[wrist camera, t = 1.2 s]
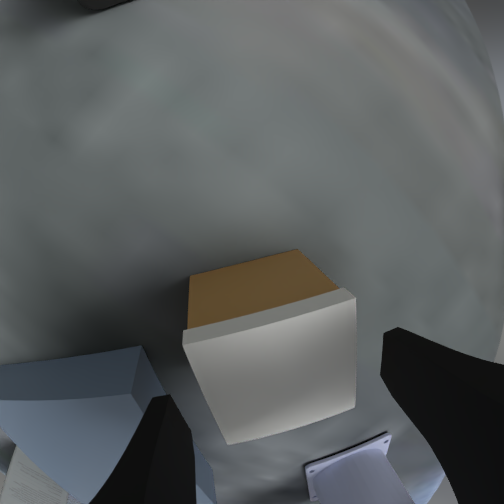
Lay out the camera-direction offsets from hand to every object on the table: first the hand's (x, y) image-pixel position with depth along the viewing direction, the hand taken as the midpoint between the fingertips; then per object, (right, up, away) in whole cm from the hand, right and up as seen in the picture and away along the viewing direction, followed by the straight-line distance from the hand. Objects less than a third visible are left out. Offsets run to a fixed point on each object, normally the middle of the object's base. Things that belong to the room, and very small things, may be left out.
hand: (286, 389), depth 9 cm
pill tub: (-1, +2, +5) cm, 6 cm away
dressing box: (-11, -7, +7) cm, 15 cm away
